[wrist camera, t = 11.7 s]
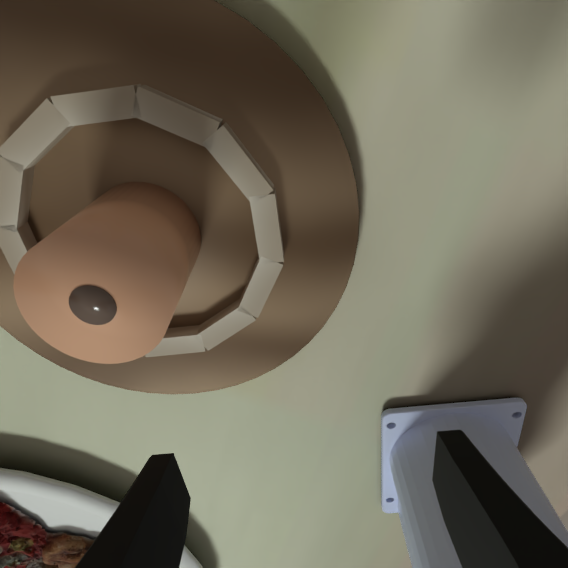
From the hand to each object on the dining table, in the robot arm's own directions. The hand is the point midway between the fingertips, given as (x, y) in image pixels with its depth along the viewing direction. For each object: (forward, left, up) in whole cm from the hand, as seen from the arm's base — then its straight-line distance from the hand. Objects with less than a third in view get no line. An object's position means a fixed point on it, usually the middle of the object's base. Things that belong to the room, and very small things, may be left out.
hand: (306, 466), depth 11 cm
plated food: (-23, +24, -10) cm, 35 cm away
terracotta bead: (+4, +6, -9) cm, 11 cm away
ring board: (+4, +6, -9) cm, 12 cm away
